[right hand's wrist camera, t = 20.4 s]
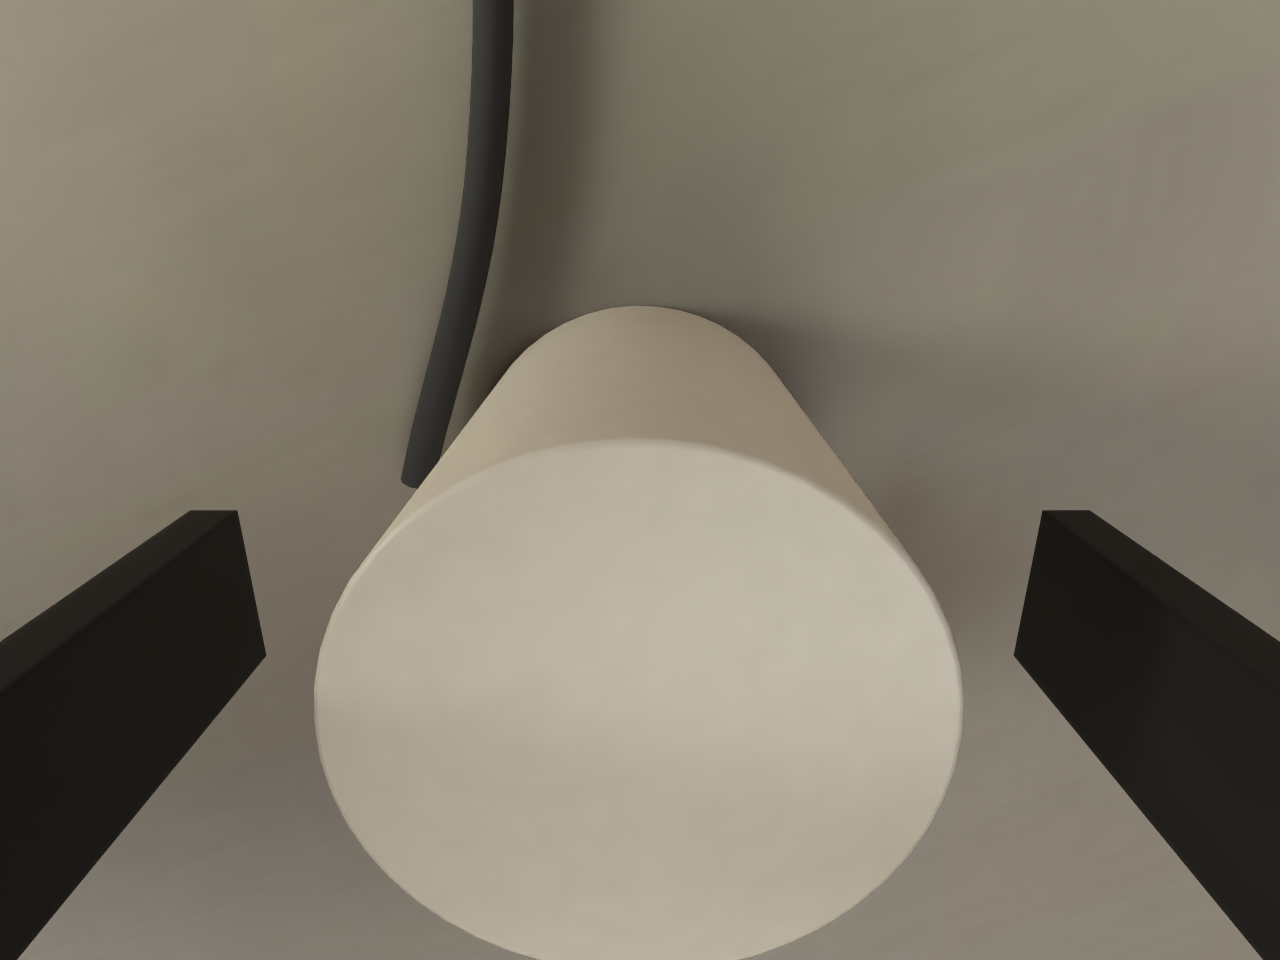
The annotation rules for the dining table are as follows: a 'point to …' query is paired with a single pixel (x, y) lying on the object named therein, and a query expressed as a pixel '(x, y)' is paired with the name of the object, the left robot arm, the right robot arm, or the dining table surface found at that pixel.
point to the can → (638, 662)
